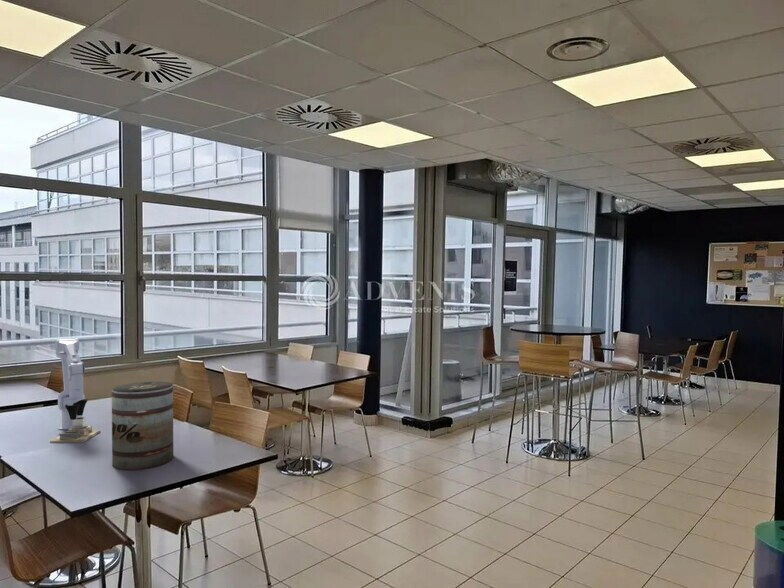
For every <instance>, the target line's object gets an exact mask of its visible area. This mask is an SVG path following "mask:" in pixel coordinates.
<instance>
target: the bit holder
mask: <svg viewBox="0 0 784 588" xmlns="http://www.w3.org/2000/svg"><path fill="white" fill-rule="evenodd" d="M98 434H101V430H93V426H92V425H86V428H85V429H82V430H73V428H71V429H67V431H62V432H61V433H59V436H56V437H55V438H52V439H50V440H49V443H50V444H53V443H54V444H55V443H57V444H59V443H60V444H61V443H62V444H63V443H66V444H69V443H71V444H72V443H83V442H86V441H87V440H89V439H91V438H93V437H95V436H98Z"/></svg>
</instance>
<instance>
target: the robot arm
mask: <svg viewBox="0 0 784 588" xmlns="http://www.w3.org/2000/svg"><path fill="white" fill-rule="evenodd" d="M54 348H55V355H56V357H57V358H59V359H60V361H61V368H62V380H63V381H62V382H63V391H61V392H60V393H59V394H58V396H57V407H58V410H59V411H61V426H60V427H58V428H57V430H69V429H71V428H73V420H75V419H76V418H77V417H83V415H84V411H85V407H86V404H87V402H88V398H87V399H86V395H85V394H84V375H85V371H86V368H85V363H84V362H83V361H82V360H81V357H80V355H79V349H80V340H79V338H78V337H75V338H63V339H62V338H61V339H59V338H58V339H56V340H55V343H54Z"/></svg>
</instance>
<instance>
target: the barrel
mask: <svg viewBox="0 0 784 588" xmlns="http://www.w3.org/2000/svg"><path fill="white" fill-rule="evenodd" d="M111 448H112V449H111V452H112V454H111V458H112V461H111V463H112V464H111V465H112V467H113V468H114V469H117V470H121V471H142V470H148V469H153V468H157V467H162V466H164V465H166V464H168V463H170V462H171V461H172V460H174V385H173V383H172V382H169V381H168V382H167V381H155V380H154V381H138V382H130V383H123V384H120V385H116V386H113V387H112V388H111Z"/></svg>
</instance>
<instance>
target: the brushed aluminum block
mask: <svg viewBox="0 0 784 588" xmlns="http://www.w3.org/2000/svg"><path fill="white" fill-rule="evenodd" d="M86 420H87V419H86V416H82V417H77V418H76V419H75V420H73V430H82V429H85V428H86V426H87V424H86Z"/></svg>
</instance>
